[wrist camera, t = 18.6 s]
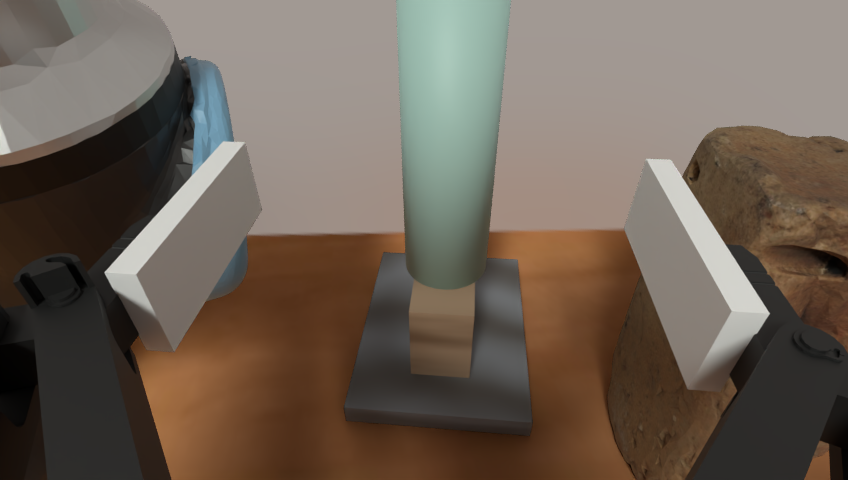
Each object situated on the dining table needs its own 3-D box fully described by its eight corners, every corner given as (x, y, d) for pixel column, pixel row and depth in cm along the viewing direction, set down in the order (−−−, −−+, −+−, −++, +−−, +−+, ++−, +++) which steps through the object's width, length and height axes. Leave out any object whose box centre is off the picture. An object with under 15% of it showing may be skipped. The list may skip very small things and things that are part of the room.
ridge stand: (529, 435, 31) (547, 360, 27) (346, 420, 32) (332, 345, 28) (515, 272, 44) (525, 202, 39) (384, 265, 45) (379, 195, 40)
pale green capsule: (395, 281, 32) (378, -29, 21) (418, 233, 36) (413, -46, 25) (478, 296, 31) (505, -24, 20) (491, 244, 35) (520, -43, 24)
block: (595, 376, 35) (684, 109, 23) (703, 383, 34) (853, 114, 22) (634, 541, 26) (811, 255, 14) (779, 554, 26) (1091, 268, 14)
